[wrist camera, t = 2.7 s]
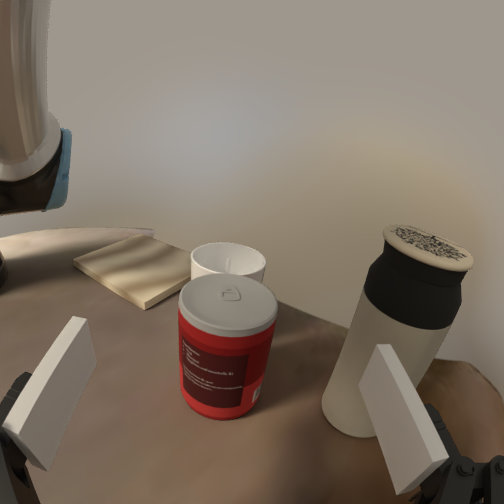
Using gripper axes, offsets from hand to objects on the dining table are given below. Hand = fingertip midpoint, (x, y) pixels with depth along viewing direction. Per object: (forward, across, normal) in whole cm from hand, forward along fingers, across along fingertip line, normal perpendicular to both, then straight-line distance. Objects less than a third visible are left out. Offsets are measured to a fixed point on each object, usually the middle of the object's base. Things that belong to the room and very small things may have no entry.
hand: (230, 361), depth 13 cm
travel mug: (+8, +14, -14) cm, 21 cm away
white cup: (+20, -1, -14) cm, 24 cm away
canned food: (+10, 0, -14) cm, 17 cm away
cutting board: (+34, -15, -14) cm, 39 cm away
